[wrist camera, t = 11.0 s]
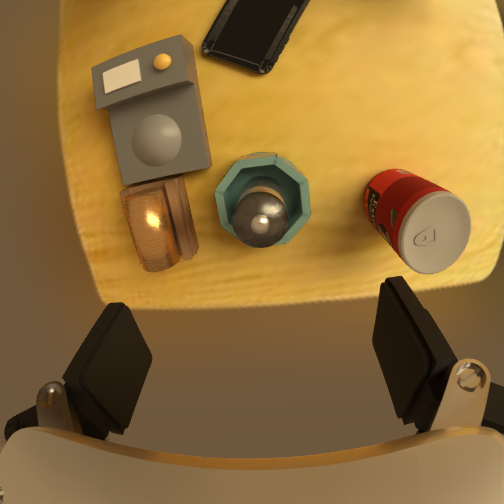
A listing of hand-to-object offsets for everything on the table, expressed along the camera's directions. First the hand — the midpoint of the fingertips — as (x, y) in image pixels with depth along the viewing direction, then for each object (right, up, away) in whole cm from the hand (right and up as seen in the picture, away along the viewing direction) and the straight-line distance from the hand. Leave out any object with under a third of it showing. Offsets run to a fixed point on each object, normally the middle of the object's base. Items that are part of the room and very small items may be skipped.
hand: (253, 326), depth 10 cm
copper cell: (-11, +6, +21) cm, 24 cm away
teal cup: (+1, +9, +21) cm, 23 cm away
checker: (-10, +18, +17) cm, 27 cm away
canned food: (+16, +9, +20) cm, 27 cm away
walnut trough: (-10, +7, +22) cm, 26 cm away
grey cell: (+1, +9, +20) cm, 22 cm away
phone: (+1, +28, +12) cm, 31 cm away
